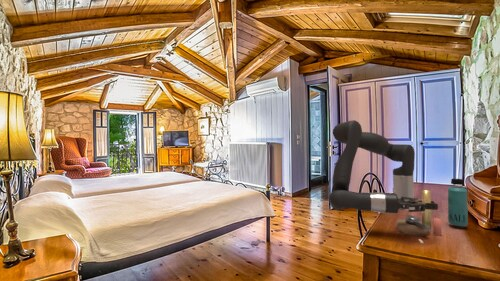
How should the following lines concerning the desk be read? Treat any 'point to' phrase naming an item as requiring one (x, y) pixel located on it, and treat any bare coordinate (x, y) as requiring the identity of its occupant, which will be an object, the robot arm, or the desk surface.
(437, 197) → the desk surface
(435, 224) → the post
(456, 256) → the desk surface
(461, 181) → the beverage bottle
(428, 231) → the crank plinth
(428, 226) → the crank
